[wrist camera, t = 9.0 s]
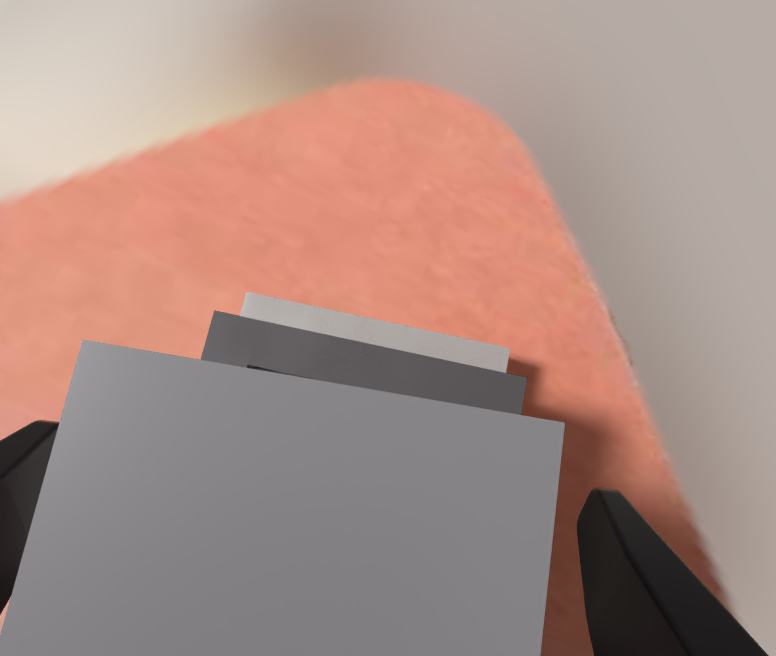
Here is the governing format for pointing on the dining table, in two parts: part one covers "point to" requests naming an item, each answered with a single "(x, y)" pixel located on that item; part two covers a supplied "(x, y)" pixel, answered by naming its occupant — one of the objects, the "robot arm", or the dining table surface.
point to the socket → (363, 354)
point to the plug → (281, 519)
